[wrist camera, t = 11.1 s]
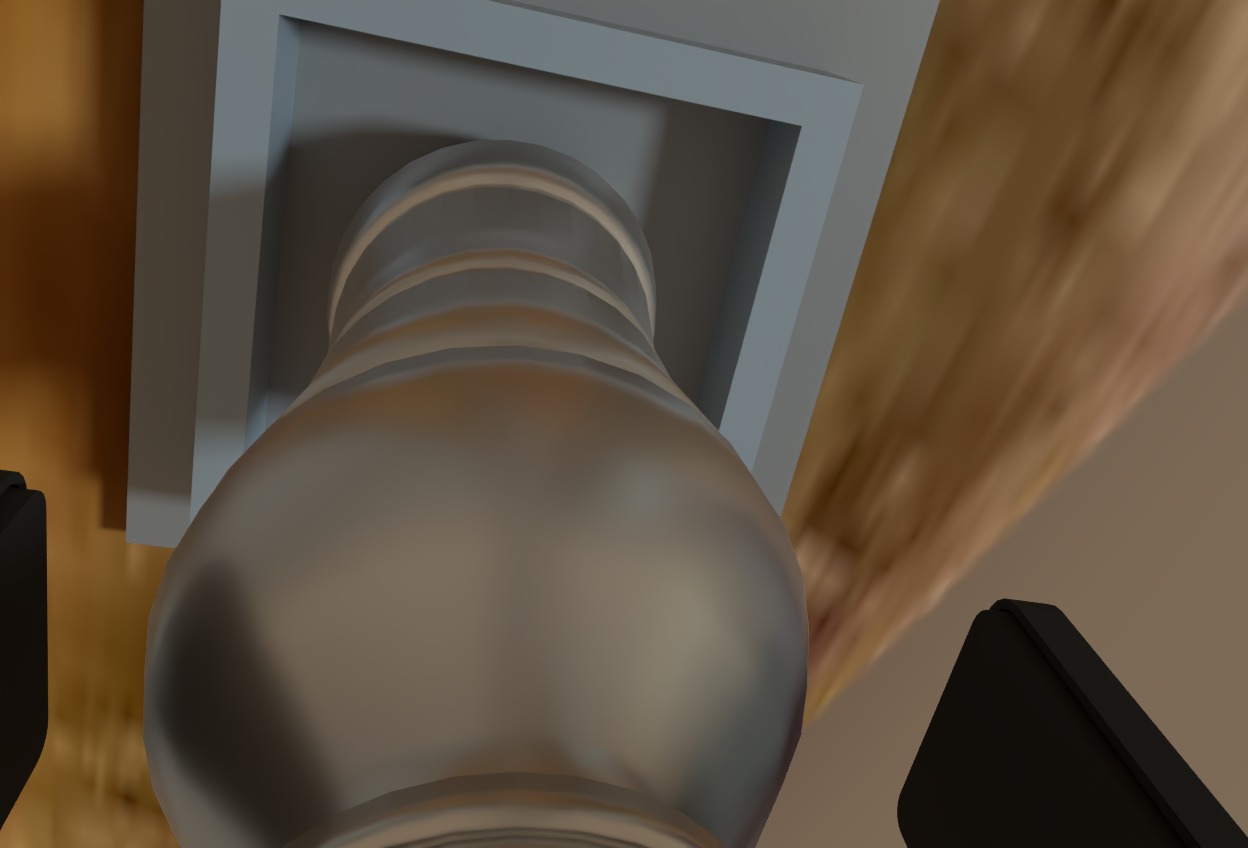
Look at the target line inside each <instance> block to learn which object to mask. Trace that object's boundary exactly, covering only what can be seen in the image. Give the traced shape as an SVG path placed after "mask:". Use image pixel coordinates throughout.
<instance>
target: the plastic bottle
mask: <svg viewBox="0 0 1248 848" xmlns="http://www.w3.org/2000/svg"><path fill="white" fill-rule="evenodd" d="M655 319H656V282H655V276H654V269H653V263H652V257H651V252H650V249H649V247H648V244H647V241H646V239H645V236H644V234H643V231H642V228H641V226H640V224H639V222H638V221H637V219H636V217H635V216H634V214H633V213H632V211H631V210H630V208H629V207H628V205H627V203H626V202H625V200H624V199H623V198H622V197H621V196H620V195H619V194H618V193H617V192H616V191H615V190H614V189H613V188H612V187H611V186H610V185H609V184H608V183H607V182H606V181H605V180H604V179H603V177H602V176H600V175H599V174H597V173H596V172H594V171H593V170H591V169H590V168H588V167H587V166H585V165H584V164H582V163H581V162H579V161H578V160H576V159H575V158H573V157H570V156H568V155H565V154H563V153H560V152H558V151H555V150H553V149H550V148H547V147H545V146H542V145H536V144H531V143H525V142H520V141H514V140H475V141H471V142H466V143H462V144H457V145H453V146H448V147H444V148H441V149H439V150H436V151H434V152H432V153H430V154H427V155H425V156H423V157H421V158H418V159H416V160H414V161H411V162H410V163H408V164H407V165H406V166H404V167H403V168H401V169H400V170H399V171H397V172H396V173H394V174H393V175H391V176H390V177H389V178H387V179H386V180H384V181H383V182H382V183H381V184H380V185H379V186H378V187H377V189H376V190H375V191H374V192H373V193H372V194H371V195H370V196H369V197H368V198H367V199H366V200H365V201H364V202H363V203H362V205H361V206H360V207H359V209H358V210H357V212H356V214H355V215H354V217H353V219H352V220H351V222H350V224H349V225H348V227H347V228H346V230H345V232H344V233H343V236H342V239H341V242H340V244H339V247H338V250H337V253H336V256H335V259H334V261H333V265H332V273H331V280H330V288H329V296H328V309H327V322H328V334H329V348H328V353H327V356H326V358H325V359H324V361H323V362H322V364H321V366H320V368H319V369H318V371H317V373H316V374H315V376H314V377H313V379H312V381H311V383H310V384H309V386H308V387H307V388H306V389H305V390H304V391H303V392H302V393H301V394H300V395H299V396H298V398H297V399H296V400H295V401H294V402H293V403H292V404H291V405H290V406H289V407H288V408H287V409H286V410H285V411H284V412H283V413H282V414H281V415H280V416H279V417H278V419H277V420H276V421H275V422H274V423H273V424H272V425H271V426H270V427H269V428H268V429H267V430H266V431H265V432H264V433H263V434H262V435H261V436H260V437H259V438H258V439H257V440H256V441H255V442H254V443H253V444H252V445H251V446H250V447H249V448H248V449H247V450H246V451H245V452H244V453H243V455H242V456H241V457H240V458H239V459H238V460H237V461H236V462H235V463H234V464H233V465H232V466H231V467H230V468H229V469H228V470H227V472H226V473H225V475H224V476H223V478H222V479H221V481H220V482H219V484H218V485H217V487H216V488H215V490H214V491H213V492H212V494H211V495H210V496H209V498H208V499H207V500H206V502H205V503H204V504H203V506H202V507H201V508H200V510H199V512H198V513H197V515H196V516H195V518H194V520H193V521H192V523H191V525H190V526H189V528H188V529H187V531H186V533H185V534H184V536H183V537H182V539H181V541H180V542H179V544H178V546H177V547H176V549H175V550H174V552H173V554H172V555H171V557H170V558H169V560H168V562H167V564H166V567H165V570H164V573H163V576H162V579H161V582H160V585H159V588H158V591H157V594H156V597H155V600H154V603H153V606H152V609H151V612H150V615H149V619H148V632H147V646H146V660H145V673H144V723H143V739H144V745H145V750H146V755H147V761H148V766H149V771H150V777H151V782H152V788H153V791H154V793H155V795H156V797H157V799H158V801H159V804H160V806H161V808H162V810H163V812H164V814H165V817H166V819H167V821H168V823H169V825H170V827H171V829H172V832H173V834H174V836H175V838H176V840H177V842H178V844H179V846H180V847H181V848H755V847H756V845H757V842H758V841H759V838H760V836H761V834H762V831H763V829H764V827H765V824H766V822H767V820H768V818H769V815H770V813H771V811H772V808H773V806H774V804H775V802H776V799H777V797H778V795H779V792H780V790H781V788H782V786H783V783H784V780H785V778H786V775H787V772H788V770H789V767H790V764H791V761H792V759H793V756H794V753H795V751H796V748H797V745H798V742H799V740H800V737H801V731H802V724H803V716H804V708H805V701H806V693H807V679H808V628H809V627H808V617H807V608H806V599H805V590H804V580H803V574H802V571H801V568H800V566H799V563H798V560H797V558H796V555H795V552H794V549H793V547H792V544H791V541H790V538H789V536H788V533H787V530H786V527H785V525H784V523H783V522H782V520H781V519H780V517H779V516H778V514H777V513H776V511H775V510H774V508H773V507H772V505H771V504H770V502H769V501H768V499H767V498H766V496H765V494H764V493H763V491H762V490H761V488H760V486H759V485H758V483H757V482H756V480H755V479H754V477H753V476H752V474H751V473H750V471H749V470H748V468H747V467H746V465H745V464H744V462H743V461H742V460H741V458H740V457H739V455H738V454H737V452H736V451H735V449H734V448H733V446H732V445H731V443H730V442H729V441H728V440H727V439H726V438H725V437H724V436H723V435H722V434H721V433H720V432H719V431H718V430H717V429H716V428H715V426H714V425H713V424H712V423H711V422H710V421H709V420H708V419H707V418H706V417H705V415H704V414H703V413H702V412H701V411H700V410H699V409H698V408H697V407H696V406H695V405H694V403H693V402H692V401H691V400H690V399H689V398H688V397H687V396H686V395H685V394H684V392H683V391H682V390H681V389H680V388H679V387H678V386H677V385H676V384H675V383H674V381H673V380H672V379H671V378H670V376H669V374H668V372H667V370H666V369H665V367H664V365H663V363H662V361H661V360H660V358H659V357H658V355H657V353H656V351H655V349H654V344H653V339H654V334H655Z"/></svg>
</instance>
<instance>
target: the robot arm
mask: <svg viewBox="0 0 1248 848" xmlns="http://www.w3.org/2000/svg"><path fill="white" fill-rule="evenodd" d="M47 728H48V640H47V532H46V500H45V497H44V494H43V493H42V492H41V491H38V490H30V489H27V488H26V483H25V480H24V477H23V476H22V475H21V474H20V473H19V472H14V471H6V470H0V830H1V828H2V826H3V824H4V822H5V821H6V819H7V817H8V815H9V813H10V811H11V810H12V808H13V806H14V804H15V802H16V801H17V799H18V797H19V795H20V793H21V791H22V790H23V788H24V786H25V784H26V782H27V780H28V779H29V777H30V775H31V773H32V771H33V770H34V768H35V766H36V764H37V762H38V760H39V758H40V755H41V752H42V749H43V747H44V743H45V739H46V734H47ZM897 817H898V824H899V828H900V831H901V834H902V836H903V838H904V841H905V843H906V845H907V848H1248V837H1247V836H1246V835H1245V834H1244V832H1243V831H1242V830H1241V829H1240V827H1239V826H1238V825H1237V824H1236V823H1235V821H1234V820H1233V819H1232V818H1231V816H1230V815H1229V814H1228V813H1227V812H1226V811H1225V809H1224V808H1223V807H1222V805H1221V804H1220V803H1219V802H1218V801H1217V799H1216V798H1215V797H1214V796H1213V795H1212V793H1211V792H1210V791H1209V790H1208V788H1207V787H1206V786H1205V785H1204V784H1203V783H1202V781H1201V780H1200V779H1199V777H1198V776H1197V775H1196V774H1195V773H1194V771H1193V770H1192V769H1191V768H1190V767H1189V765H1188V764H1187V763H1186V762H1185V760H1184V759H1183V758H1182V757H1181V756H1180V754H1179V753H1178V752H1177V751H1176V749H1175V748H1174V747H1173V746H1172V745H1171V744H1170V742H1169V741H1168V740H1167V739H1166V737H1165V736H1164V735H1163V734H1162V732H1161V731H1160V730H1159V729H1158V728H1157V726H1156V725H1155V724H1154V723H1153V722H1152V720H1151V719H1150V718H1149V717H1148V715H1147V714H1146V713H1145V712H1144V711H1143V709H1142V708H1141V707H1140V706H1139V704H1138V703H1137V702H1136V701H1135V700H1134V698H1133V697H1132V696H1131V695H1130V694H1129V692H1128V691H1127V690H1126V689H1125V687H1124V686H1123V685H1122V684H1121V683H1120V681H1119V680H1118V679H1117V678H1116V676H1115V675H1114V674H1113V673H1112V672H1111V670H1109V668H1108V667H1107V666H1106V665H1105V663H1104V662H1103V661H1102V660H1101V658H1100V657H1099V656H1098V655H1097V654H1096V652H1095V651H1094V650H1093V649H1092V647H1091V646H1090V645H1089V644H1088V642H1087V641H1086V640H1085V639H1084V638H1083V636H1082V635H1081V634H1080V633H1079V632H1078V631H1077V629H1076V628H1075V627H1074V625H1073V624H1072V623H1071V622H1070V621H1069V619H1068V618H1067V617H1066V616H1065V614H1064V613H1063V612H1062V611H1061V610H1060V609H1058V608H1057V607H1056V606H1054V605H1049V604H1043V603H1035V602H1028V601H1020V600H1012V599H1001V600H998V601H996V602H995V603H994V604H993V605H992V606H991V608H990V609H989V610H983V611H981V612H980V613H979V614H978V615H977V616H976V617H975V619H974V621H973V623H972V625H971V628H970V630H969V633H968V635H967V637H966V639H965V642H964V645H963V647H962V649H961V651H960V654H959V656H958V659H957V661H956V663H955V666H954V668H953V670H952V673H951V675H950V677H949V680H948V682H947V684H946V687H945V689H944V692H943V694H942V696H941V699H940V701H939V704H938V706H937V708H936V710H935V713H934V715H933V717H932V720H931V722H930V725H929V727H928V729H927V732H926V734H925V736H924V739H923V741H922V744H921V746H920V748H919V751H918V753H917V755H916V758H915V760H914V762H913V765H912V767H911V770H910V772H909V774H908V776H907V779H906V781H905V784H904V786H903V788H902V791H901V793H900V796H899V800H898V807H897Z"/></svg>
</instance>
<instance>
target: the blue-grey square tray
mask: <svg viewBox="0 0 1248 848" xmlns="http://www.w3.org/2000/svg"><path fill="white" fill-rule="evenodd" d="M939 1H940V0H144V13H143V43H142V72H141V102H140V132H139V161H138V191H137V220H136V250H135V279H134V309H133V339H132V368H131V398H130V427H129V457H128V486H127V516H126V542H128V543H136V544H144V545H153V546H161V547H169V548H176V547H177V546H178V544H179V542H180V541H181V539H182V537H183V536H184V534H185V533H186V531H187V529H188V528H189V526H190V525H191V523H192V521H193V520H194V518H195V516H196V515H197V513H198V512H199V510H200V508H201V507H202V506H203V504H204V503H205V502H206V500H207V499H208V498H209V496H210V495H211V494H212V492H213V491H214V490H215V488H216V487H217V485H218V484H219V482H220V481H221V479H222V478H223V476H224V475H225V473H226V472H227V470H228V469H229V468H230V467H231V466H232V465H233V464H234V463H235V462H236V461H237V460H238V459H239V458H240V457H241V456H242V455H243V453H244V452H245V451H246V450H247V449H248V448H249V447H250V446H251V445H252V444H253V443H254V442H255V441H256V440H257V439H258V438H259V437H260V436H261V435H262V434H263V433H264V432H265V431H266V430H267V429H268V428H269V427H270V426H271V425H272V424H273V423H274V422H275V421H276V420H277V419H278V417H279V416H280V415H281V414H282V413H283V412H284V411H285V410H286V409H287V408H288V407H289V406H290V405H291V404H292V403H293V402H294V401H295V400H296V399H297V398H298V396H299V395H300V394H301V393H302V392H303V391H304V390H305V389H306V388H307V387H308V386H309V384H310V383H311V381H312V379H313V377H314V376H315V374H316V373H317V371H318V369H319V368H320V366H321V364H322V362H323V361H324V359H325V358H326V356H327V353H328V348H329V334H328V322H327V309H328V296H329V288H330V280H331V273H332V265H333V261H334V259H335V256H336V253H337V250H338V247H339V244H340V242H341V239H342V236H343V233H344V232H345V230H346V228H347V227H348V225H349V224H350V222H351V220H352V219H353V217H354V215H355V214H356V212H357V210H358V209H359V207H360V206H361V205H362V203H363V202H364V201H365V200H366V199H367V198H368V197H369V196H370V195H371V194H372V193H373V192H374V191H375V190H376V189H377V187H378V186H379V185H380V184H381V183H382V182H383V181H384V180H386V179H387V178H389V177H390V176H391V175H393V174H394V173H396V172H397V171H399V170H400V169H401V168H403V167H404V166H406V165H407V164H408V163H410V162H411V161H414V160H416V159H418V158H421V157H423V156H425V155H427V154H430V153H432V152H434V151H436V150H439V149H441V148H444V147H448V146H453V145H457V144H462V143H466V142H471V141H475V140H514V141H520V142H525V143H531V144H536V145H542V146H545V147H547V148H550V149H553V150H555V151H558V152H560V153H563V154H565V155H568V156H570V157H573V158H575V159H576V160H578V161H579V162H581V163H582V164H584V165H585V166H587V167H588V168H590V169H591V170H593V171H594V172H596V173H597V174H599V175H600V176H602V177H603V179H604V180H605V181H606V182H607V183H608V184H609V185H610V186H611V187H612V188H613V189H614V190H615V191H616V192H617V193H618V194H619V195H620V196H621V197H622V198H623V199H624V200H625V202H626V203H627V205H628V207H629V208H630V210H631V211H632V213H633V214H634V216H635V217H636V219H637V221H638V222H639V224H640V226H641V228H642V231H643V234H644V236H645V239H646V241H647V244H648V247H649V249H650V252H651V257H652V263H653V269H654V276H655V282H656V319H655V334H654V339H653V344H654V349H655V351H656V353H657V355H658V357H659V358H660V360H661V361H662V363H663V365H664V367H665V369H666V370H667V372H668V374H669V376H670V378H671V379H672V380H673V381H674V383H675V384H676V385H677V386H678V387H679V388H680V389H681V390H682V391H683V392H684V394H685V395H686V396H687V397H688V398H689V399H690V400H691V401H692V402H693V403H694V405H695V406H696V407H697V408H698V409H699V410H700V411H701V412H702V413H703V414H704V415H705V417H706V418H707V419H708V420H709V421H710V422H711V423H712V424H713V425H714V426H715V428H716V429H717V430H718V431H719V432H720V433H721V434H722V435H723V436H724V437H725V438H726V439H727V440H728V441H729V442H730V443H731V445H732V446H733V448H734V449H735V451H736V452H737V454H738V455H739V457H740V458H741V460H742V461H743V462H744V464H745V465H746V467H747V468H748V470H749V471H750V473H751V474H752V476H753V477H754V479H755V480H756V482H757V483H758V485H759V486H760V488H761V490H762V491H763V493H764V494H765V496H766V498H767V499H768V501H769V502H770V504H771V505H772V507H773V508H774V510H775V511H776V513H777V514H778V516H779V517H781V514H782V511H783V508H784V504H785V501H786V498H787V495H788V491H789V488H790V485H791V482H792V478H793V475H794V472H795V469H796V465H797V462H798V459H799V456H800V452H801V449H802V446H803V443H804V439H805V436H806V433H807V430H808V426H809V423H810V420H811V417H812V413H813V410H814V407H815V404H816V400H817V397H818V394H819V391H820V387H821V384H822V381H823V378H824V374H825V371H826V368H827V365H828V361H829V358H830V355H831V352H832V348H833V345H834V342H835V339H836V335H837V332H838V329H839V326H840V323H841V319H842V316H843V313H844V310H845V306H846V303H847V300H848V297H849V293H850V290H851V287H852V284H853V280H854V277H855V274H856V271H857V267H858V264H859V261H860V258H861V254H862V251H863V248H864V245H865V241H866V238H867V235H868V232H869V228H870V225H871V222H872V219H873V215H874V212H875V209H876V206H877V202H878V199H879V196H880V193H881V189H882V186H883V183H884V180H885V176H886V173H887V170H888V167H889V163H890V160H891V157H892V154H893V150H894V147H895V144H896V141H897V137H898V134H899V131H900V128H901V124H902V121H903V118H904V115H905V112H906V108H907V105H908V102H909V99H910V95H911V92H912V89H913V86H914V82H915V79H916V76H917V73H918V69H919V66H920V63H921V60H922V56H923V53H924V50H925V47H926V43H927V40H928V37H929V34H930V30H931V27H932V24H933V21H934V17H935V14H936V11H937V8H938V4H939Z"/></svg>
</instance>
